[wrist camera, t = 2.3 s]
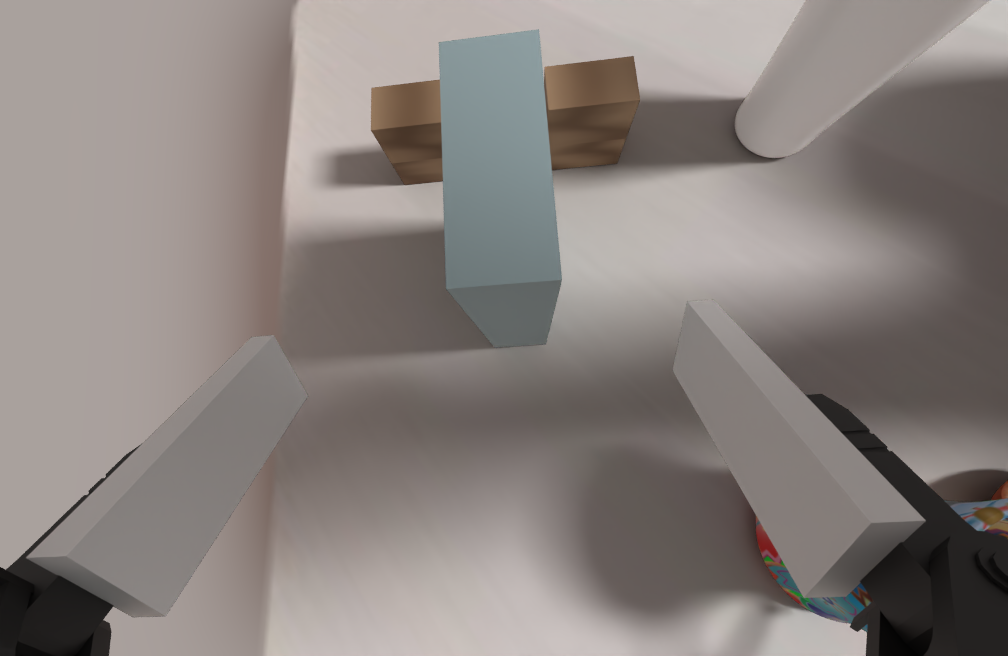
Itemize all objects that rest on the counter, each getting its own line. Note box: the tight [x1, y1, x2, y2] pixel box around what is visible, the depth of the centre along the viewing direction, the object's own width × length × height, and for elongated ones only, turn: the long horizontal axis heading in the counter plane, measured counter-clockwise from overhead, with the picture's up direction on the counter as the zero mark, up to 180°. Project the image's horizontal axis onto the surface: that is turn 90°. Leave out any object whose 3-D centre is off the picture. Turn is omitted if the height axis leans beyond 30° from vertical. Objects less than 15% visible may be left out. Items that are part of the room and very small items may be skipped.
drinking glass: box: [735, 0, 991, 158], centre depth 19 cm, size 7×7×15 cm
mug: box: [756, 498, 1008, 632], centre depth 16 cm, size 12×9×11 cm
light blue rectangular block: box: [439, 29, 562, 348], centre depth 18 cm, size 4×9×14 cm, turn 3°
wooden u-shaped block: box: [371, 56, 640, 185], centre depth 24 cm, size 16×3×6 cm, turn 93°
